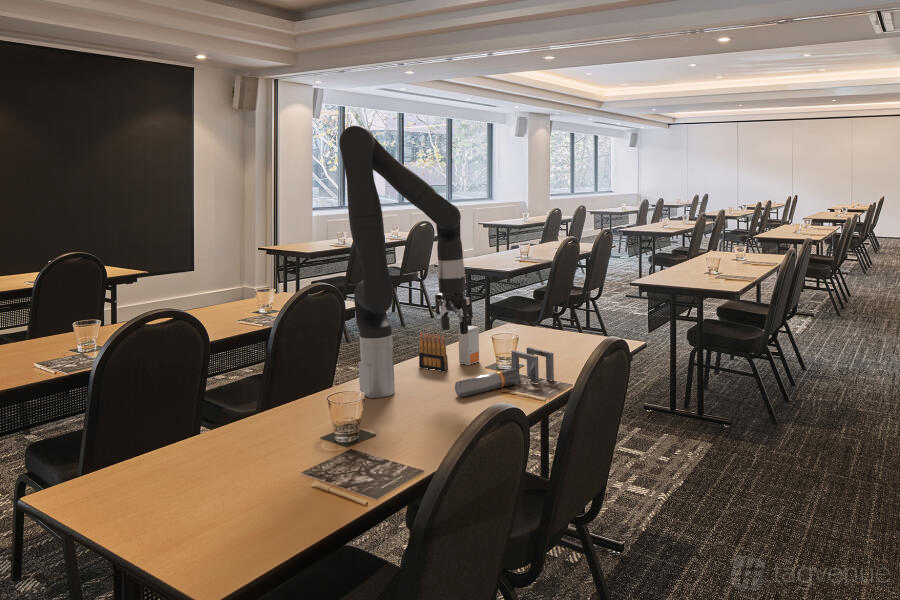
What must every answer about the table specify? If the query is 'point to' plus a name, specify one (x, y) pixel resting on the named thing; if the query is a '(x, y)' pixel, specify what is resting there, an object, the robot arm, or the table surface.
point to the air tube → (486, 382)
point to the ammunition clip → (433, 352)
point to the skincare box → (469, 346)
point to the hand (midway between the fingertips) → (454, 331)
